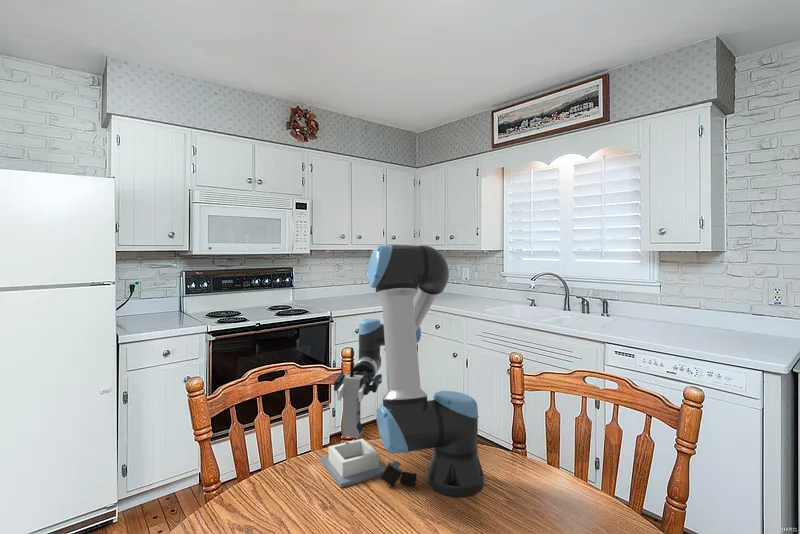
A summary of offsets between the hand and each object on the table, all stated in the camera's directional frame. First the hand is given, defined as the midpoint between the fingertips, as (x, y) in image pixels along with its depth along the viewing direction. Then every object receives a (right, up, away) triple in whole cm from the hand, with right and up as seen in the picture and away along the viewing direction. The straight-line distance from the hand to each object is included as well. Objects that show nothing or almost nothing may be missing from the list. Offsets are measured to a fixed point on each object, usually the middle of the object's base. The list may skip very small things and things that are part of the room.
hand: (349, 396), depth 111 cm
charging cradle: (0, -22, +6) cm, 23 cm away
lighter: (+13, -23, -3) cm, 26 cm away
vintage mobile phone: (0, -13, +6) cm, 14 cm away
